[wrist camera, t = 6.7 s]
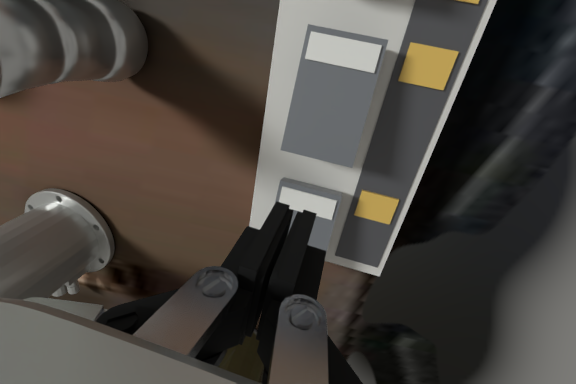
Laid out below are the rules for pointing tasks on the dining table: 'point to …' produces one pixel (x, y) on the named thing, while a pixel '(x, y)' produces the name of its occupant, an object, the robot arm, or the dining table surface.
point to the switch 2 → (312, 207)
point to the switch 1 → (332, 94)
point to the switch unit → (372, 113)
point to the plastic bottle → (68, 42)
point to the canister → (244, 359)
